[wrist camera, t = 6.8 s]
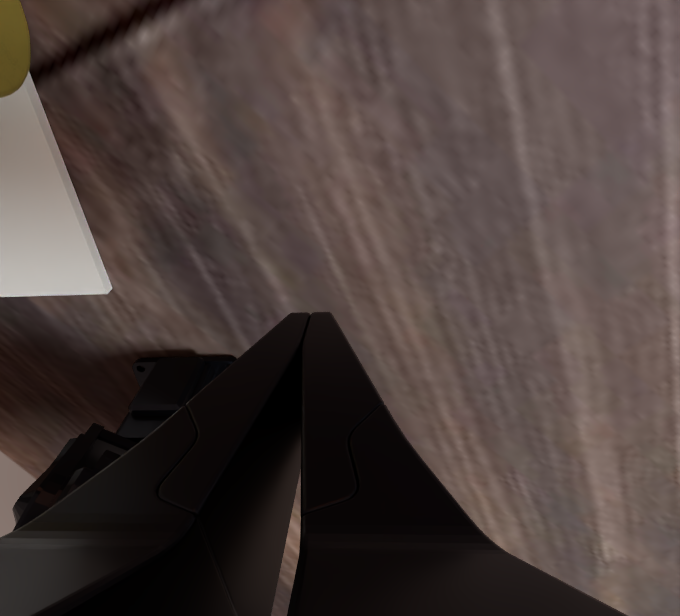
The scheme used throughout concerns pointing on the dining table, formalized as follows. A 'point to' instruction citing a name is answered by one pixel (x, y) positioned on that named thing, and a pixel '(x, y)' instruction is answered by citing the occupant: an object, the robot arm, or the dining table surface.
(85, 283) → the mat
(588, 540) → the dining table surface
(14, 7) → the vase
